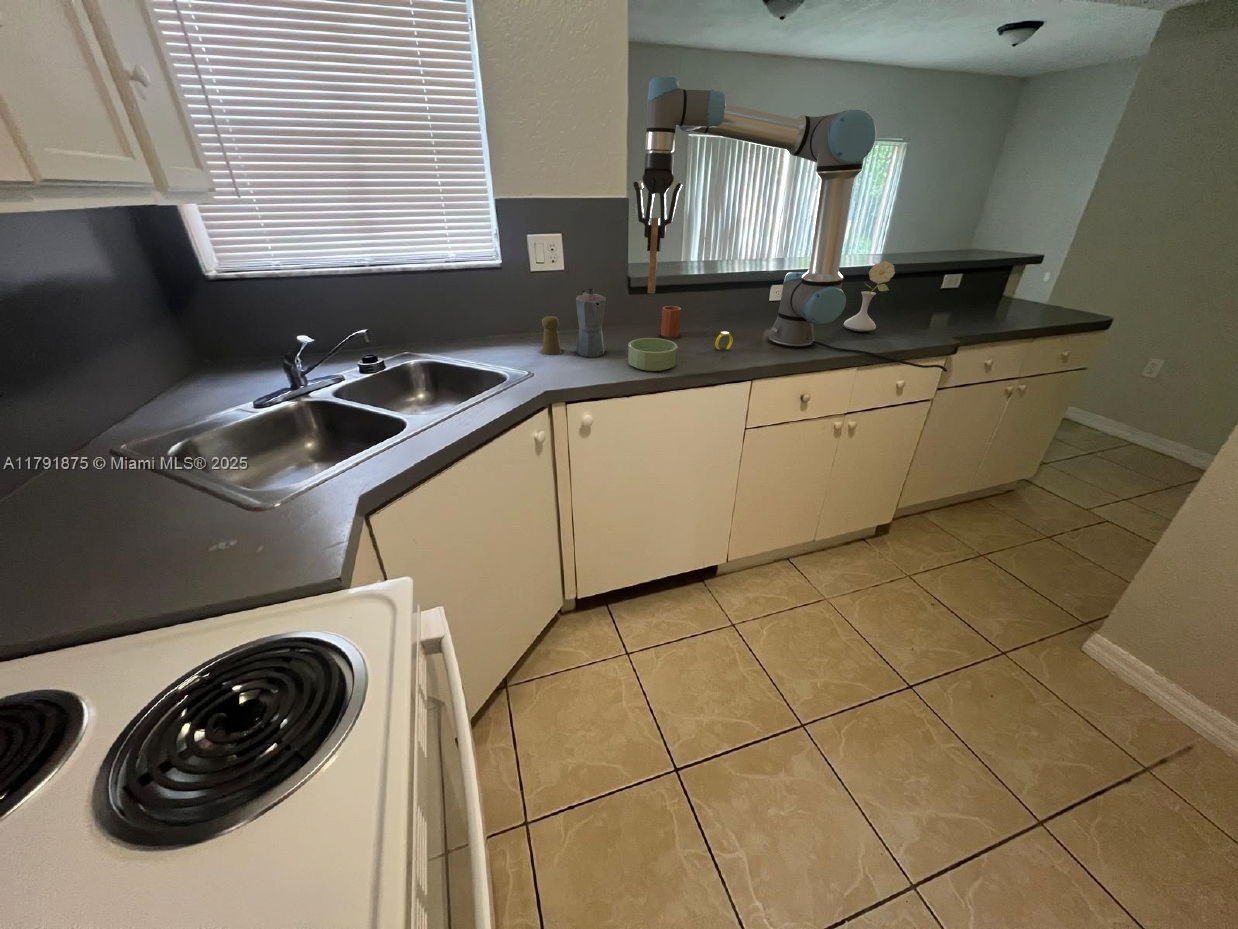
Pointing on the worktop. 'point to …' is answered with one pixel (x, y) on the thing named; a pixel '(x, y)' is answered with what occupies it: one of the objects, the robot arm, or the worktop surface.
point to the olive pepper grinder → (551, 336)
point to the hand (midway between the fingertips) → (653, 250)
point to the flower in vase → (870, 297)
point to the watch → (724, 335)
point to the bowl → (652, 354)
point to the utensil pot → (670, 321)
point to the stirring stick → (653, 256)
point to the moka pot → (590, 324)
